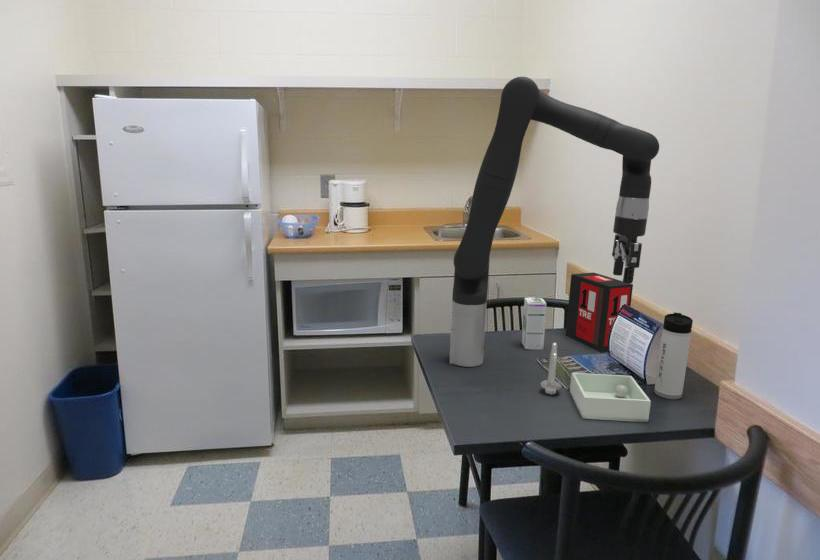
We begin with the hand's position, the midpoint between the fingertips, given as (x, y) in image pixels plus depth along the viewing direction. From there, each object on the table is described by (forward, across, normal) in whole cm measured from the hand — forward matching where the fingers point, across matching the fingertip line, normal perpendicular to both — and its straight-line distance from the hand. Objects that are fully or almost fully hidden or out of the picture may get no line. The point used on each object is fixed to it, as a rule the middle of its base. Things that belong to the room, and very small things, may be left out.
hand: (622, 278), depth 147 cm
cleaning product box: (+26, -26, +3) cm, 37 cm away
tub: (+26, +20, -6) cm, 33 cm away
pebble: (+25, +16, -2) cm, 30 cm away
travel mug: (+26, +11, +11) cm, 30 cm away
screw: (+27, +14, -18) cm, 35 cm away
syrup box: (+27, -19, -17) cm, 37 cm away
